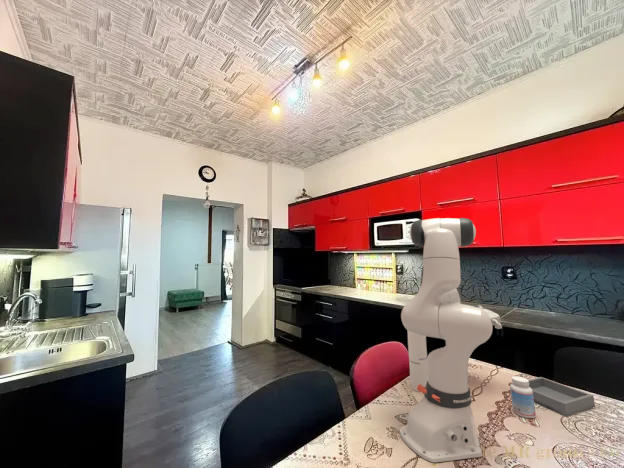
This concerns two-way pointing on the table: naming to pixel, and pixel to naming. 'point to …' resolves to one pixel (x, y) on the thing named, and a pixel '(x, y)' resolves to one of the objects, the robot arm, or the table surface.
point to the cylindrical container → (417, 360)
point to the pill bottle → (522, 397)
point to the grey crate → (560, 397)
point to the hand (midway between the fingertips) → (489, 329)
